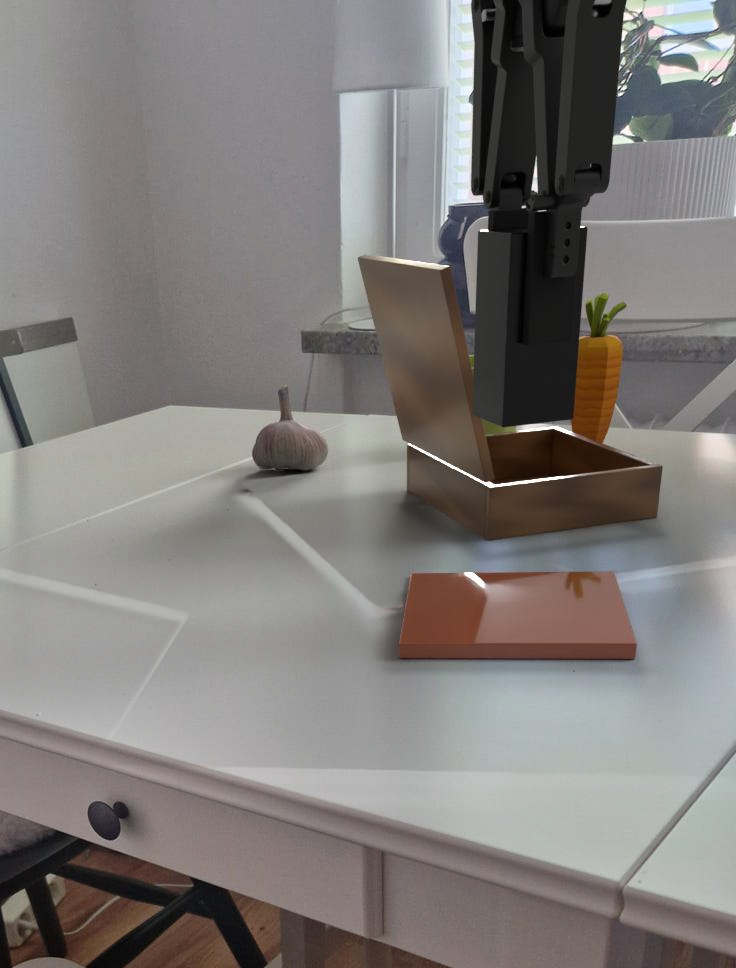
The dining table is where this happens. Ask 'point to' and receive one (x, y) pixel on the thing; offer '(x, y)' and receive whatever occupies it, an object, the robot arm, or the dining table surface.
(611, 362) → the carrot
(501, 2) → the robot arm
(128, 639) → the dining table surface
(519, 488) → the wooden box
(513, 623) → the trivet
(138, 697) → the dining table surface
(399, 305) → the lid
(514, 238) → the black block
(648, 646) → the dining table surface
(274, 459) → the garlic bulb
